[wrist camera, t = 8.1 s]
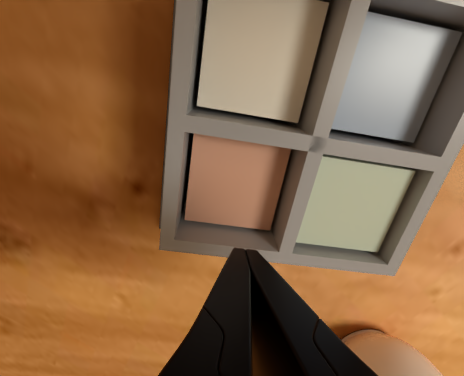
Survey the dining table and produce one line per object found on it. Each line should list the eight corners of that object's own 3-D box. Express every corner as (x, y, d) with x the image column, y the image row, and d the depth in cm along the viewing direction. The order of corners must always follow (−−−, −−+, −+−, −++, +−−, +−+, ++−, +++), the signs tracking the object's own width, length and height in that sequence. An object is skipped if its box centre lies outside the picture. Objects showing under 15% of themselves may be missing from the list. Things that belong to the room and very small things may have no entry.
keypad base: (464, -10, 15) (596, -59, 10) (354, 249, 22) (396, 302, 17) (180, -78, 14) (154, -182, 8) (160, 225, 21) (138, 276, 15)
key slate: (415, 41, 16) (462, 32, 13) (380, 132, 18) (413, 142, 15) (329, 23, 15) (357, 9, 12) (304, 119, 17) (321, 127, 14)
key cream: (307, 19, 15) (329, 2, 12) (284, 115, 17) (298, 123, 14) (213, -1, 14) (210, -24, 11) (201, 101, 16) (196, 105, 13)
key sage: (381, 155, 17) (415, 171, 14) (353, 225, 19) (377, 252, 16) (303, 142, 17) (321, 156, 14) (282, 216, 19) (294, 242, 16)
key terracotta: (279, 136, 18) (291, 147, 14) (262, 207, 20) (270, 230, 17) (198, 123, 17) (193, 132, 14) (190, 197, 19) (184, 219, 16)
